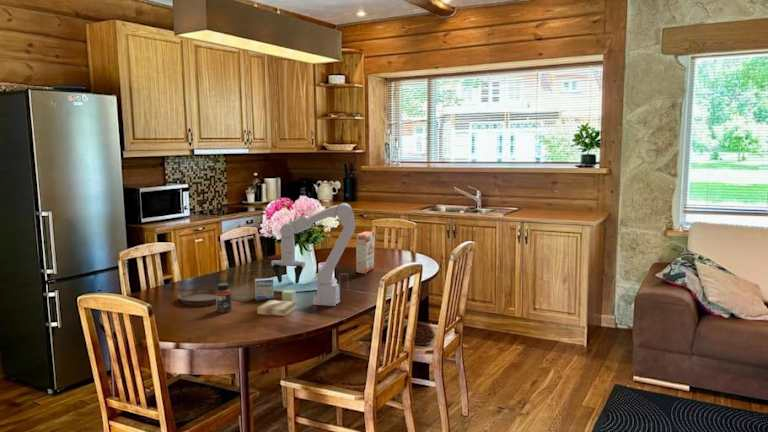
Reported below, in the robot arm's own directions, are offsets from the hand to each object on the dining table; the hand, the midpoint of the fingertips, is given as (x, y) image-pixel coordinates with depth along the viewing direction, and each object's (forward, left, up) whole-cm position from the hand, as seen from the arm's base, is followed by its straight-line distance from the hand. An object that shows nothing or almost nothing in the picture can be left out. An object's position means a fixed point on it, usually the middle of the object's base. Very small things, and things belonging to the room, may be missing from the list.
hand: (288, 282), depth 248 cm
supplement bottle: (+22, +16, -9) cm, 29 cm away
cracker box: (-17, -67, -9) cm, 70 cm away
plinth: (+1, +11, -9) cm, 14 cm away
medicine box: (+14, -6, -10) cm, 18 cm away
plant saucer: (+39, +3, -10) cm, 40 cm away
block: (0, 0, -9) cm, 9 cm away
